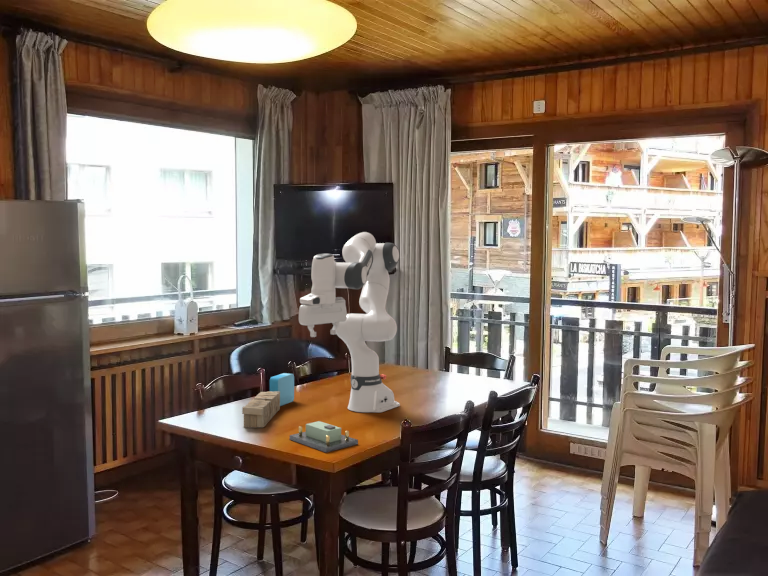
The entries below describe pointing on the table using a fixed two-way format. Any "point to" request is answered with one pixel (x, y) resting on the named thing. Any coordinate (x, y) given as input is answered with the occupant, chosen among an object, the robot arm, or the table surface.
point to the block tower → (261, 409)
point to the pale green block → (323, 431)
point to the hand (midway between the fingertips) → (323, 335)
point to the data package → (283, 387)
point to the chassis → (324, 446)
